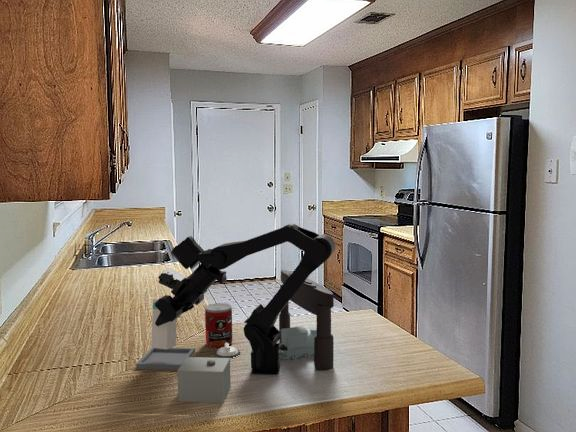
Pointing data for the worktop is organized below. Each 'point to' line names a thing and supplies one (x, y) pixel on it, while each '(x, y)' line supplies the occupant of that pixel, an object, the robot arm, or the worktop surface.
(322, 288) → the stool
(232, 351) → the stove knob
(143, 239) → the worktop surface
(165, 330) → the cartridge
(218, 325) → the canned food
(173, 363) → the tray
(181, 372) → the unit
